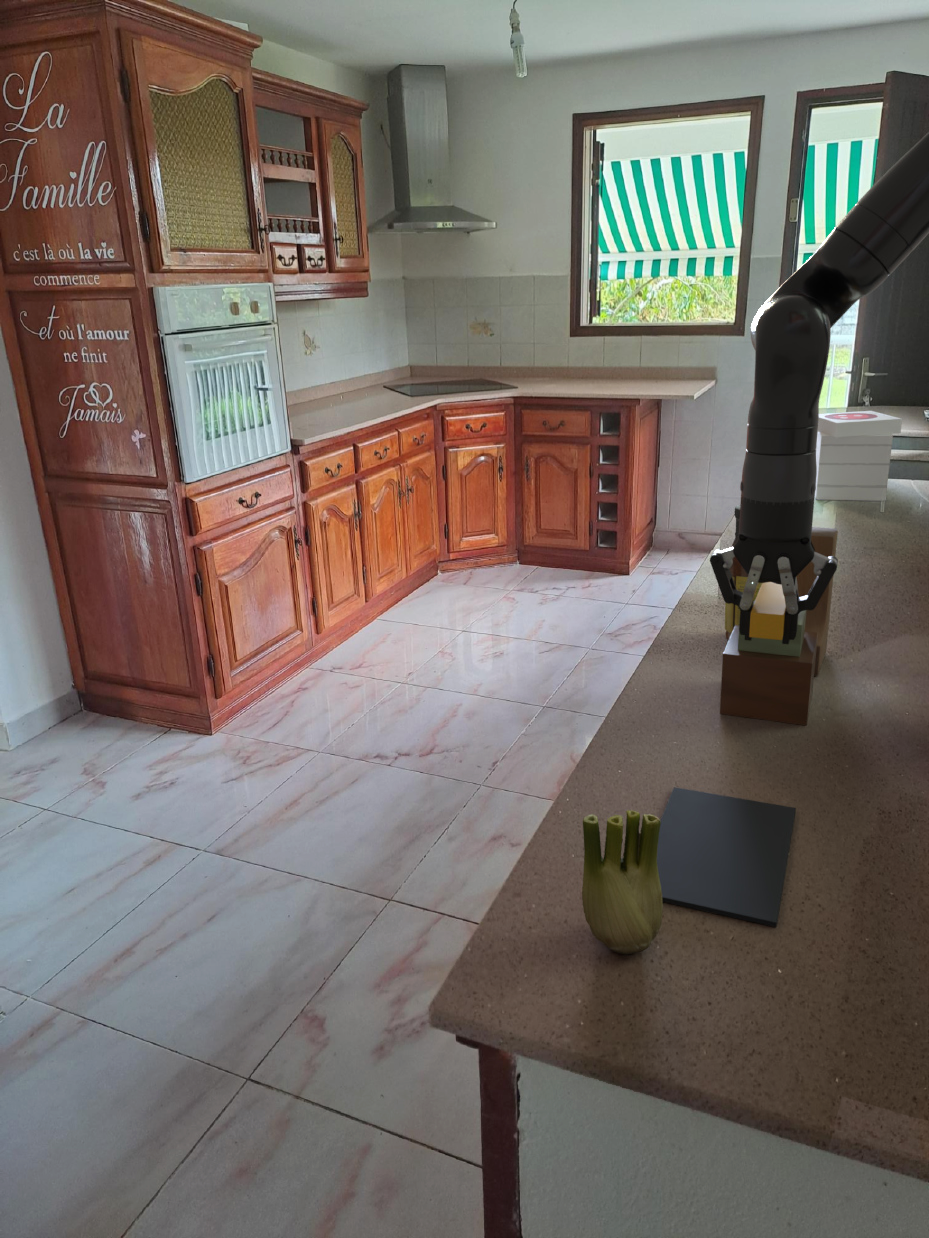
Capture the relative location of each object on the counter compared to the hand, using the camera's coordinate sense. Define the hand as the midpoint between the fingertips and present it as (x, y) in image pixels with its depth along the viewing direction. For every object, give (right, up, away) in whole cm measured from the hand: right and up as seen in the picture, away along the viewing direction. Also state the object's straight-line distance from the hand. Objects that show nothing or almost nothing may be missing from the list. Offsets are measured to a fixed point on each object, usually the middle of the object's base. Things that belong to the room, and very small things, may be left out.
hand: (767, 639), depth 101 cm
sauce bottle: (+7, -1, +29) cm, 30 cm away
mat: (-11, -19, -19) cm, 29 cm away
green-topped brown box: (+3, -8, +9) cm, 13 cm away
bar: (+3, +3, +5) cm, 7 cm away
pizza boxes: (+58, +34, +114) cm, 133 cm away
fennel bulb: (-22, -24, -29) cm, 43 cm away
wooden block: (+12, -4, +20) cm, 24 cm away
